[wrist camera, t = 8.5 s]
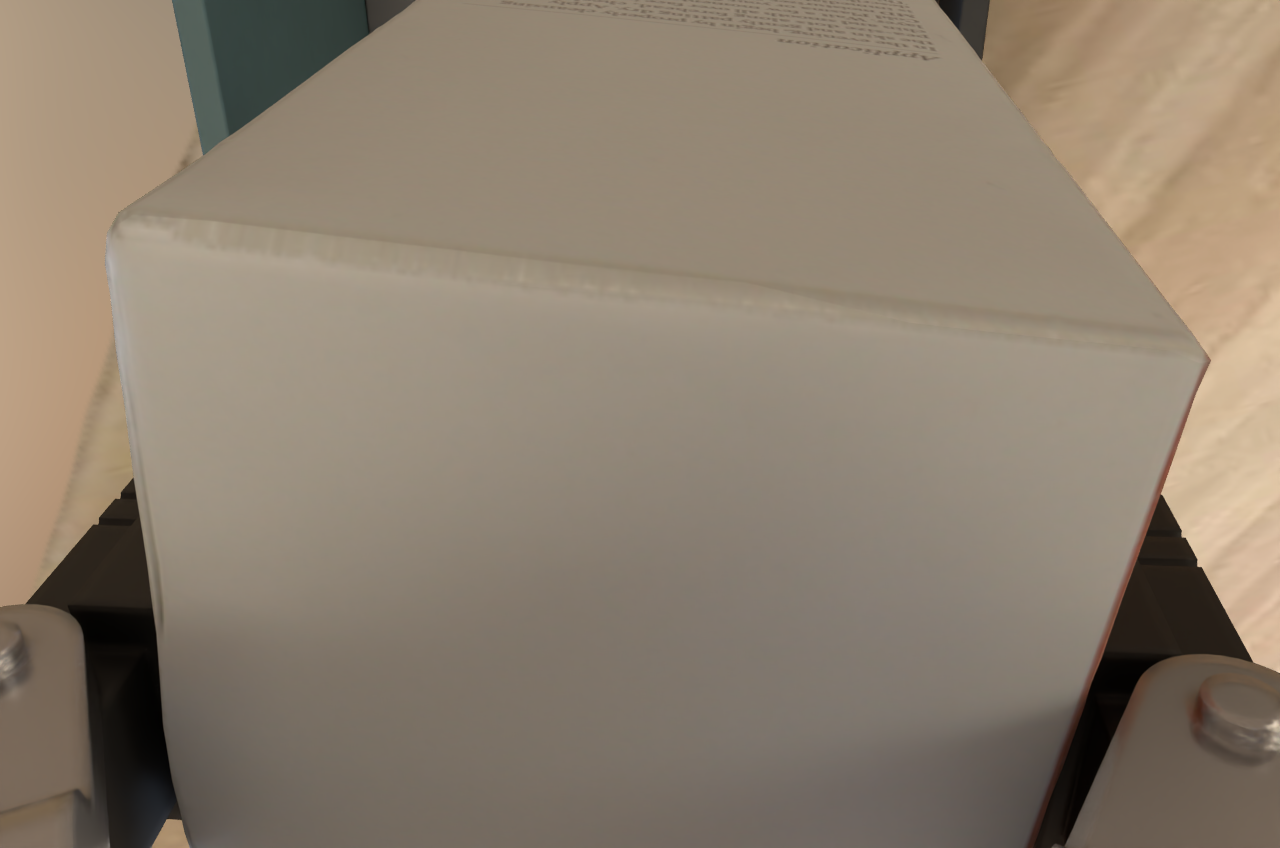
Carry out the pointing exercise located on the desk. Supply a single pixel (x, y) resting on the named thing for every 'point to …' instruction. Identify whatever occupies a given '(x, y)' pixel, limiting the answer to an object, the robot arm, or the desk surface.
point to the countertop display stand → (321, 49)
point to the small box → (636, 437)
